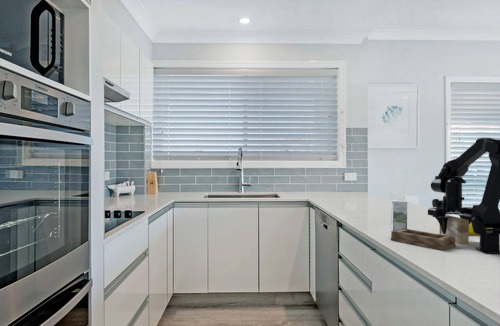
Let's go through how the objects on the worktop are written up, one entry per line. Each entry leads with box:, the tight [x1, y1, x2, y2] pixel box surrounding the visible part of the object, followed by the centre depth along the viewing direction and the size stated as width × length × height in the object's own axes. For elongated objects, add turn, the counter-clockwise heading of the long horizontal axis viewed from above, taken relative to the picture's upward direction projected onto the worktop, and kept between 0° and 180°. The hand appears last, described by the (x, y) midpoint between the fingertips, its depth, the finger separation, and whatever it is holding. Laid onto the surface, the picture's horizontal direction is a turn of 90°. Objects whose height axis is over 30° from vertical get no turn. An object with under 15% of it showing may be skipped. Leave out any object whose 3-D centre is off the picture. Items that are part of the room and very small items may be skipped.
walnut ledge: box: [390, 228, 457, 251], centre depth 136 cm, size 20×10×4 cm, turn 37°
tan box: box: [439, 214, 470, 245], centre depth 141 cm, size 12×4×9 cm, turn 7°
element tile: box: [469, 223, 493, 236], centre depth 158 cm, size 15×15×5 cm
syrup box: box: [390, 199, 408, 232], centre depth 153 cm, size 6×6×14 cm
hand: (453, 233), depth 141 cm, fingers open, 8 cm apart
